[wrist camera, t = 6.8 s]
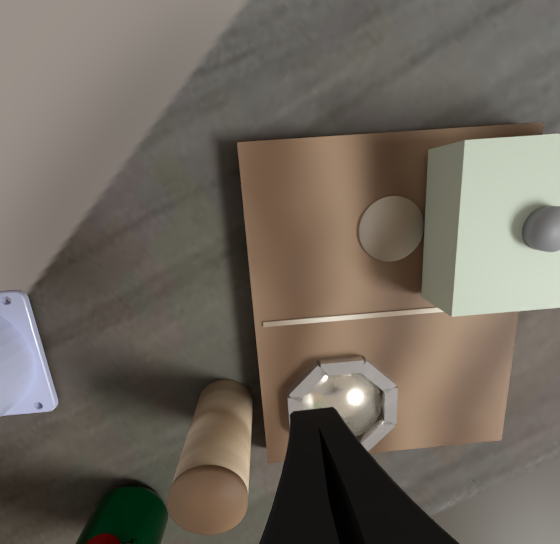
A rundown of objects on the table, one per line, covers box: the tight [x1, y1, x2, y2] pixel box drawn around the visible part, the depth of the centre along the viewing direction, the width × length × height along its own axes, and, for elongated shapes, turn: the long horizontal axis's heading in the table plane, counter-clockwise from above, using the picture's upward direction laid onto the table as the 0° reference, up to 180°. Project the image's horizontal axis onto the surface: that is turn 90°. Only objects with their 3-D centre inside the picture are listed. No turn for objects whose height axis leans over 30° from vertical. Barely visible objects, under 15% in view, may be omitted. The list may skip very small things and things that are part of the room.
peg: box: [167, 379, 253, 535], centre depth 17 cm, size 4×4×7 cm
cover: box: [421, 134, 560, 317], centre depth 15 cm, size 8×8×4 cm
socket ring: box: [287, 355, 398, 451], centre depth 20 cm, size 7×7×1 cm
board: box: [237, 122, 544, 463], centre depth 19 cm, size 16×20×1 cm
